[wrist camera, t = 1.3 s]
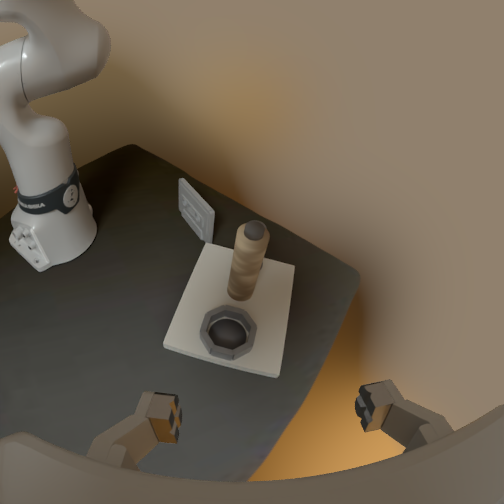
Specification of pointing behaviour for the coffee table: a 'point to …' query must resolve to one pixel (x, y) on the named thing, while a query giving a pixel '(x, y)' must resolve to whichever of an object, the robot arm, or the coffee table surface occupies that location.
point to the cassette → (196, 211)
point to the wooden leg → (247, 259)
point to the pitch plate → (233, 315)
